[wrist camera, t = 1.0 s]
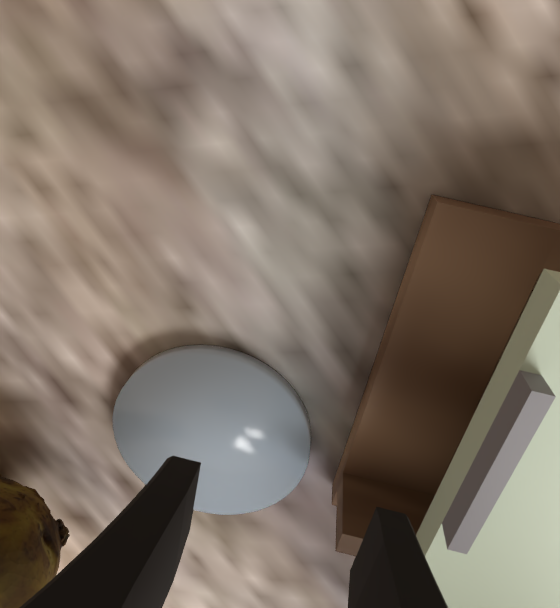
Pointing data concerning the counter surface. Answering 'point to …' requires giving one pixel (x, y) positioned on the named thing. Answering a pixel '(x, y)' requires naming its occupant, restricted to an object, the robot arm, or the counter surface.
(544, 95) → the counter surface
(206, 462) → the saucer
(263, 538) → the counter surface
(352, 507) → the board
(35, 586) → the potato
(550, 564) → the cover
